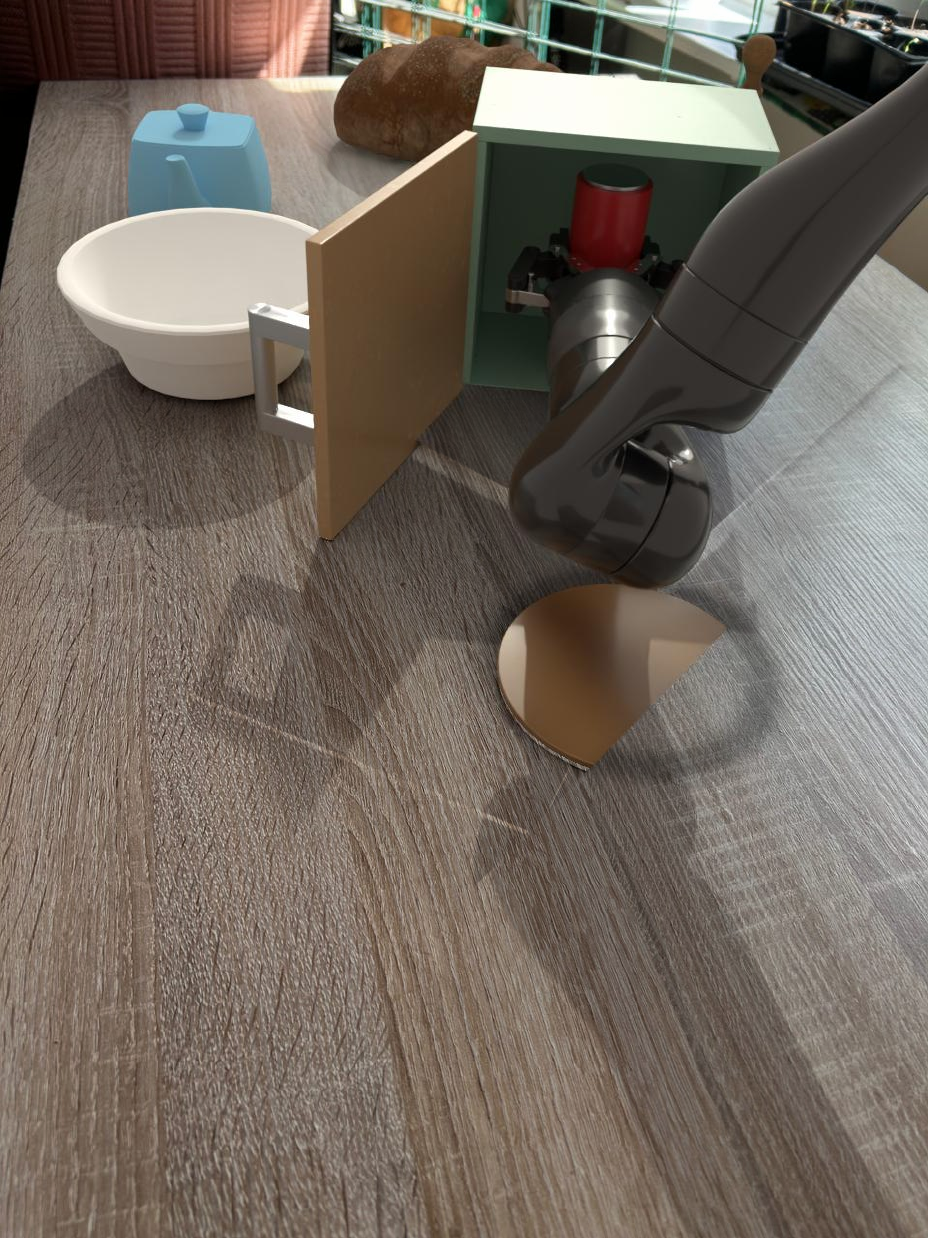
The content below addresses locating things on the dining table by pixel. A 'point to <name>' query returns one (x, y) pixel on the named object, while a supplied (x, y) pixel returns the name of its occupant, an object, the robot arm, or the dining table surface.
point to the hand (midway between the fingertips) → (602, 243)
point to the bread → (420, 94)
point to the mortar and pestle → (757, 60)
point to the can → (610, 215)
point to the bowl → (189, 294)
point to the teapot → (197, 162)
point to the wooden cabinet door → (376, 329)
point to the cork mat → (597, 662)
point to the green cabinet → (546, 178)
